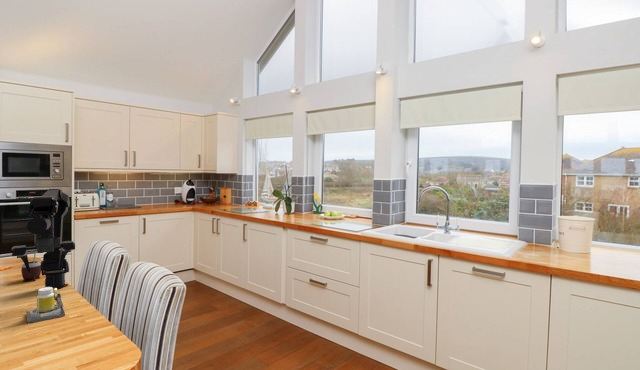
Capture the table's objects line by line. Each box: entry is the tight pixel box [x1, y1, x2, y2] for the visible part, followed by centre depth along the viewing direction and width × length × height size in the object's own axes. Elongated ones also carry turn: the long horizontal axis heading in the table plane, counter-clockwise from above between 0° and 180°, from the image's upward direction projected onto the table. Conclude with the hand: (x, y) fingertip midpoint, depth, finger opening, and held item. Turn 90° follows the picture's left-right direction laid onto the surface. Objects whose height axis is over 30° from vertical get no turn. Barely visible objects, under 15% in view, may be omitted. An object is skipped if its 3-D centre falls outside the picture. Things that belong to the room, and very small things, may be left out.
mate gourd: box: [21, 251, 42, 283], centre depth 161 cm, size 8×8×15 cm
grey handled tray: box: [25, 288, 66, 324], centre depth 129 cm, size 25×11×4 cm, turn 41°
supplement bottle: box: [36, 286, 55, 314], centre depth 123 cm, size 5×5×8 cm
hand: (44, 270), depth 135 cm, fingers open, 9 cm apart
